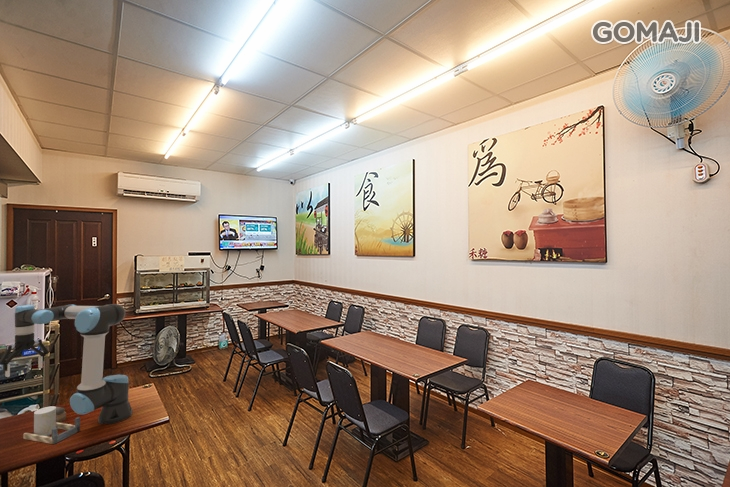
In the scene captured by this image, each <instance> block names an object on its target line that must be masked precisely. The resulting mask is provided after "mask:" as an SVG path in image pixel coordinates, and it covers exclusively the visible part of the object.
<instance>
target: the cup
mask: <svg viewBox="0 0 730 487" xmlns="http://www.w3.org/2000/svg"><path fill="white" fill-rule="evenodd" d="M56 407H57V406H53V405H52V406H45V407H41V408H39V409H36V410H35V411H34V412H33V434H37V435H42V436H48V437H50V436H52V429H54V428H56Z"/></svg>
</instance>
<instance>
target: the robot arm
mask: <svg viewBox="0 0 730 487" xmlns="http://www.w3.org/2000/svg"><path fill="white" fill-rule="evenodd" d="M125 317H126V309H125V307H124V306H123V305H121V304H118V303H110V304H105V305H76V304H65V305H59V306H54V307H53V306H52V307H47V308H43V309H40V308H39V309H35V305H33V304H24V305H19V306H18V305H17V306H16V307H15V309H14V344H11V345H10V344H8V345H6V347H5V351H4V352H3V353H2V355H1V358H0V366H2V371H3V372H4V375H5V378H6V377H7V378H9V377H11V364H10V363H11V361H12V360H13V359H14V358H15V357H16V355H18V354H19V353H20V352H25V351H29V350H31V351H33V352H35V353H36V354H38V355H39V356H38V359H37V360H38V362H37V363H38V364H37V365H38V366H37V368H38V369H43V367H44V366H43V362H45V356H47V355H48V354H50V351H49V350H48V348H46V346H45V344H43V341H42V340H43V339H40V338H37V339H36V340H35V333H34V332H35V324H36V325H45V324H49V323H50V322H53V321H59V320H68V319H69V320H74V327H75V330H76V331H77V332H79V333H80V336H81V337H83V347H82V363H81V367H82V368H81V380H80V383H79V384H78V385H77V386H76V392H75V393H73V394H72V395H71V397H70V398H69V404H70V405H69V406H70V408H71V410H73V411H74V413H75V414H77V415H86V414H89V413H92V412H94V411H96V410H98V409H99V408H101V409H100V413H99V415H98V417H97V418H98V423H99V424H101V425H112V424H113V425H114V424H116V423H120V422H123V421H125V420H127V419H128V418H130V417H131V416H132V414H133V409H132V406H131V404H130V401H129V386H130V385H129V377H128V375H126V374H113V375H112V374H111V375H107V376H105V377H103V376H104V373H103V372H104V360H105V344H106V343H105V341H106V335H107V334H109V332H110V327H112V326H113V327H114V326H116V325H118V324H120V323H121V322H122V321H124V319H125ZM35 344H37V346H38V347H39V348H40V350H39V349H38V348H37V347H36V346H35ZM14 348H15V349H14ZM13 349H14V350H13ZM12 350H13V351H12Z"/></svg>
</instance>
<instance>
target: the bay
mask: <svg viewBox="0 0 730 487" xmlns="http://www.w3.org/2000/svg"><path fill="white" fill-rule="evenodd" d="M58 430H65V431H63V432H60V433H59V434H58V432H59V431H58ZM79 432H81V417H80V416H77V417H75V418H74V424H71V423H69V424H68V423H65V422H60V423H58V422H56V428H54V429H52V434H51V436H42V435H37V434H34V433H29V432H24V433H23V435H22V436H23V440H29V441H33V442H34V441H35V442H40V443H45V444H52V445H56V444H57V443H59V442H61V441H63V440H65V439H67V438H69V437H71V436H73V435H75V434H77V433H79Z"/></svg>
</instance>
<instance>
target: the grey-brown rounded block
mask: <svg viewBox="0 0 730 487" xmlns="http://www.w3.org/2000/svg"><path fill="white" fill-rule="evenodd" d="M55 407H56V422H58V423H63V422H64V421H66V420H67V412H66V407H60V406H59V407H58V406H55Z"/></svg>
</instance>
